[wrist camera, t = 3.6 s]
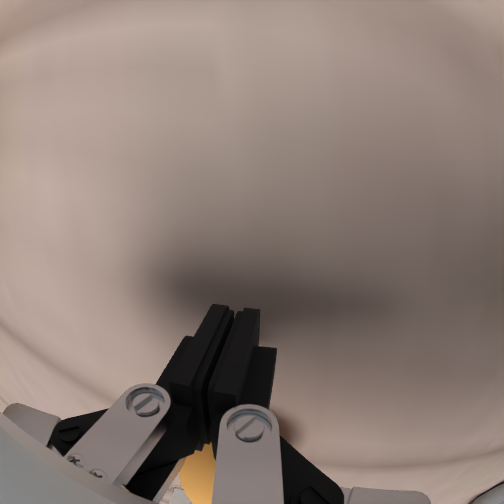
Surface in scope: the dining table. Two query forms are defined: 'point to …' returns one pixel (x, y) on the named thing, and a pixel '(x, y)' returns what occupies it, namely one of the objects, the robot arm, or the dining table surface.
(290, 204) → the dining table surface
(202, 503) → the ball
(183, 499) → the bridge
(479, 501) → the teacup
